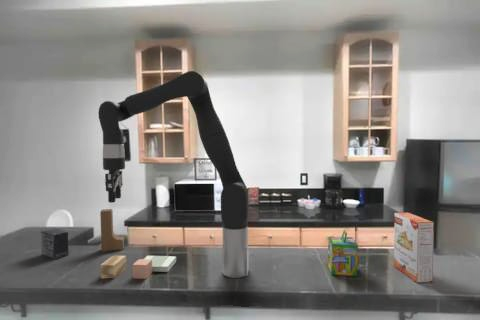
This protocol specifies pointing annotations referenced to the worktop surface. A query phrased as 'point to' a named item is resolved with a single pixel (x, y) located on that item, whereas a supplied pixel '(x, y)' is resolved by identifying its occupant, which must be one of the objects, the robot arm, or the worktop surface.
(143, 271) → the cube
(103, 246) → the wooden block
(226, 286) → the worktop surface
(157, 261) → the pad
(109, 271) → the tan rectangular block
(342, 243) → the chalk box
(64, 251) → the small box
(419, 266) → the cracker box
